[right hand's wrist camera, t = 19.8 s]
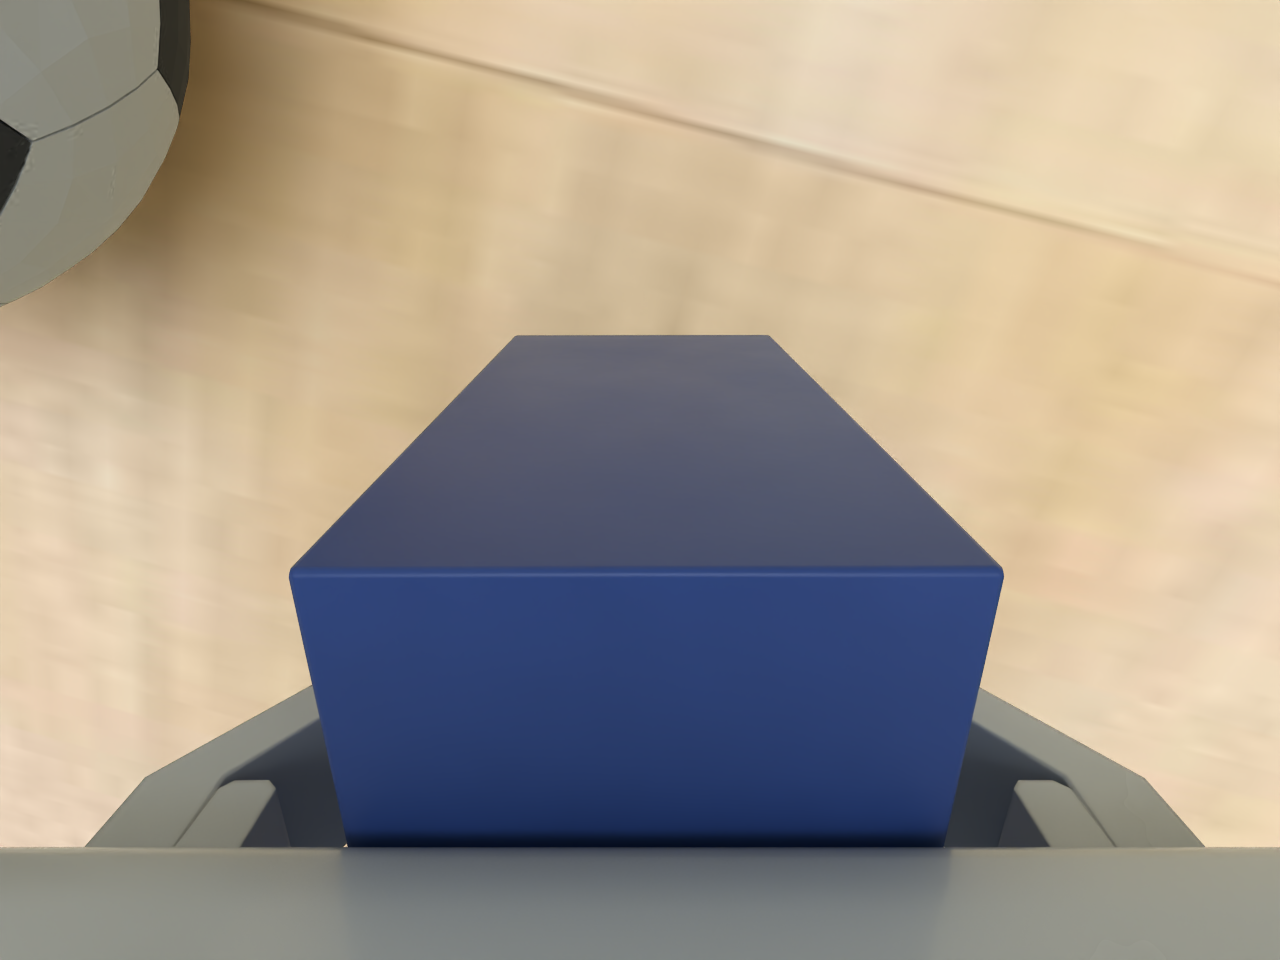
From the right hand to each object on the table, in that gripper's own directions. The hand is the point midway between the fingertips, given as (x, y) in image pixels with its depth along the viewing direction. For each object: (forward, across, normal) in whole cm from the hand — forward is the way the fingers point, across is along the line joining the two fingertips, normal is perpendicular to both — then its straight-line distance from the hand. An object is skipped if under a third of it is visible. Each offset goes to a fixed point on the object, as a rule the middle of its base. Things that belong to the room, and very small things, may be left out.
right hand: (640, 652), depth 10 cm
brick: (+5, 0, 0) cm, 5 cm away
